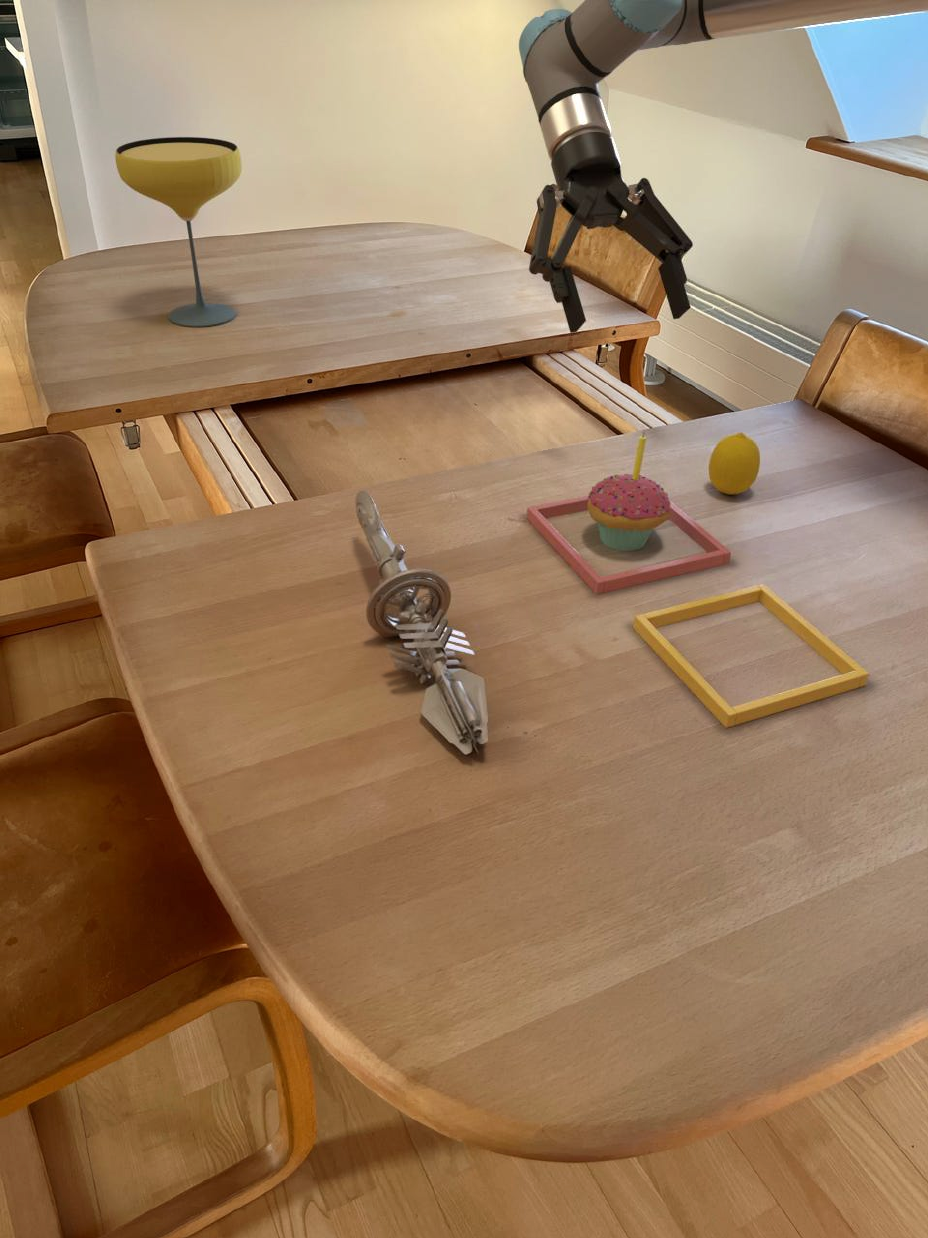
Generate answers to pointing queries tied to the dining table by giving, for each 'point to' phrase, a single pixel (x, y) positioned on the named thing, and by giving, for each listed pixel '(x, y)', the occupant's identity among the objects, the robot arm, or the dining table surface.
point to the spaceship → (424, 635)
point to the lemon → (734, 464)
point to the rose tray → (634, 577)
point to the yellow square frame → (768, 705)
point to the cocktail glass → (183, 195)
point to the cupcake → (628, 507)
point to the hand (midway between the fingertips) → (631, 320)
